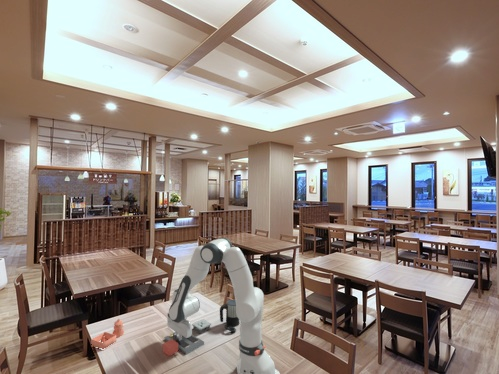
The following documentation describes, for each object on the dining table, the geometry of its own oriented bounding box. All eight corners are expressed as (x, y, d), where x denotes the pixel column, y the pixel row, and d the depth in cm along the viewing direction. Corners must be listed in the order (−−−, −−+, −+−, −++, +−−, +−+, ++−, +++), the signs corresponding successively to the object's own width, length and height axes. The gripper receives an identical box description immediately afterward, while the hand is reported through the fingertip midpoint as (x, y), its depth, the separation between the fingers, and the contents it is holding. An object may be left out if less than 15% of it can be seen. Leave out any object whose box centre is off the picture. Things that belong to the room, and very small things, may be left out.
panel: (204, 344, 152) (204, 340, 153) (185, 354, 143) (185, 350, 143) (182, 331, 167) (182, 327, 167) (164, 339, 157) (164, 336, 157)
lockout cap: (178, 351, 146) (178, 343, 146) (168, 356, 141) (168, 347, 141) (172, 347, 150) (172, 339, 150) (162, 351, 145) (162, 343, 145)
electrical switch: (200, 329, 162) (192, 321, 168) (199, 336, 162) (191, 328, 169) (212, 323, 169) (203, 316, 175) (210, 331, 169) (202, 323, 176)
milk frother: (235, 319, 183) (235, 298, 183) (247, 329, 170) (247, 306, 170) (217, 324, 175) (217, 302, 176) (228, 335, 162) (228, 311, 162)
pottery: (102, 350, 146) (103, 333, 146) (91, 347, 149) (91, 329, 150) (128, 334, 163) (128, 318, 163) (117, 331, 166) (117, 316, 166)
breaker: (179, 338, 155) (179, 333, 155) (175, 341, 153) (175, 335, 153) (176, 337, 157) (177, 331, 157) (172, 339, 155) (172, 333, 155)
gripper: (194, 319, 149) (194, 343, 148) (174, 309, 162) (174, 331, 162) (185, 323, 144) (185, 348, 144) (165, 312, 157) (165, 335, 157)
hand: (179, 339), depth 153 cm, fingers closed
